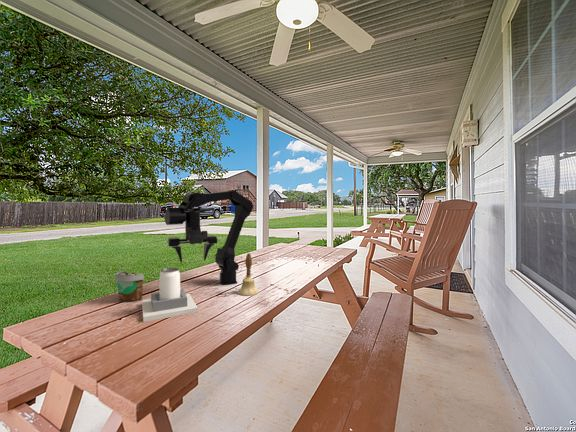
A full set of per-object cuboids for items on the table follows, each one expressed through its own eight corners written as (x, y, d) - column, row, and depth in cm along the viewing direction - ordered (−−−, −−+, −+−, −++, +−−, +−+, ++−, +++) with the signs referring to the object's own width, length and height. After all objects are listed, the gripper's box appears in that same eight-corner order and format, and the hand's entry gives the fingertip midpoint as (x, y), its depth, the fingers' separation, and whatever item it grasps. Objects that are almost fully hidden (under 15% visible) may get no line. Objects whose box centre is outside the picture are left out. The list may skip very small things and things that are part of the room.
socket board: (189, 297, 106) (189, 285, 105) (197, 312, 92) (197, 298, 92) (142, 304, 98) (141, 292, 98) (143, 322, 84) (143, 307, 84)
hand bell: (260, 289, 116) (260, 251, 115) (256, 296, 108) (256, 255, 107) (240, 288, 117) (240, 251, 116) (235, 295, 108) (235, 255, 108)
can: (168, 309, 90) (168, 273, 89) (155, 305, 93) (154, 270, 92) (184, 303, 96) (184, 268, 95) (171, 300, 99) (171, 266, 98)
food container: (107, 299, 103) (107, 273, 102) (124, 294, 108) (123, 269, 108) (128, 305, 97) (127, 277, 96) (144, 300, 102) (144, 273, 102)
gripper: (170, 226, 101) (170, 268, 102) (220, 224, 110) (221, 263, 111) (167, 223, 111) (167, 262, 112) (213, 222, 120) (214, 258, 121)
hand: (193, 261), depth 113 cm, fingers open, 9 cm apart
